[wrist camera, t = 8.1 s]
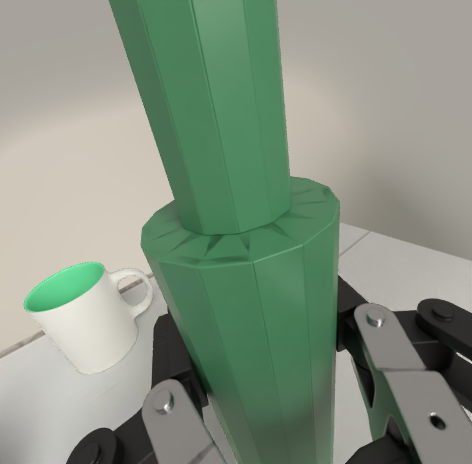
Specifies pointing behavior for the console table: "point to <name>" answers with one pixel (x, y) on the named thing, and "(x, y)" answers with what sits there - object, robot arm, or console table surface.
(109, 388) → the console table surface
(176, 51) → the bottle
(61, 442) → the console table surface
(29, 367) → the console table surface
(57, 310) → the mug
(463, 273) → the console table surface
